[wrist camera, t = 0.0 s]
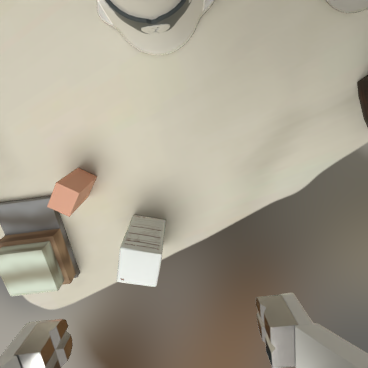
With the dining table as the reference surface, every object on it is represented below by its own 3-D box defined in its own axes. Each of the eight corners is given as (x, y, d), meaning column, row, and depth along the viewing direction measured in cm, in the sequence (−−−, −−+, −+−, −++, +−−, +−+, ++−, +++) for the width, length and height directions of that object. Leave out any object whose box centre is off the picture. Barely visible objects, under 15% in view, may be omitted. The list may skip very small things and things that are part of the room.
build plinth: (-3, 202, 50) (-33, 220, 43) (53, 195, 50) (32, 211, 43) (30, 278, 57) (9, 304, 50) (79, 272, 57) (65, 297, 50)
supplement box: (161, 247, 55) (156, 288, 43) (129, 242, 54) (114, 282, 42) (167, 218, 52) (163, 254, 40) (133, 213, 51) (118, 247, 40)
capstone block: (69, 188, 49) (46, 206, 41) (78, 167, 48) (56, 182, 39) (88, 196, 50) (69, 216, 42) (97, 176, 49) (79, 193, 40)
